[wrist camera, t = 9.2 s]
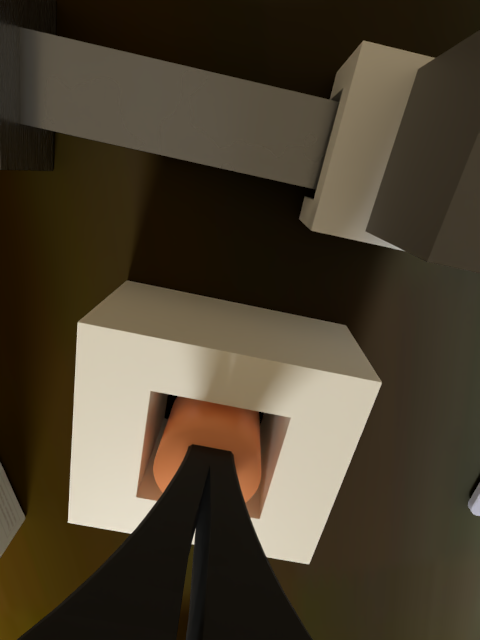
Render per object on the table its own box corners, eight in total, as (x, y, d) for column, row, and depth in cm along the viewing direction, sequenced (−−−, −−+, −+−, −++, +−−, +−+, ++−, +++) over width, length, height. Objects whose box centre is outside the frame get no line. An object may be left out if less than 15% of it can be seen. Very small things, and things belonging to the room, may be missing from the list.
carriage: (515, 114, 12) (827, 44, 6) (456, 253, 14) (643, 324, 7) (336, 72, 12) (443, -56, 5) (298, 219, 13) (343, 260, 7)
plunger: (266, 363, 16) (272, 440, 11) (249, 427, 17) (248, 521, 12) (187, 347, 16) (160, 419, 11) (175, 413, 17) (147, 503, 12)
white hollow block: (345, 325, 15) (382, 382, 11) (295, 473, 18) (309, 564, 14) (127, 280, 15) (77, 322, 11) (111, 440, 18) (67, 522, 13)
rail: (569, 123, 12) (663, 108, 10) (500, 267, 14) (561, 290, 11) (24, -7, 11) (-50, -66, 9) (25, 164, 13) (-36, 161, 10)
